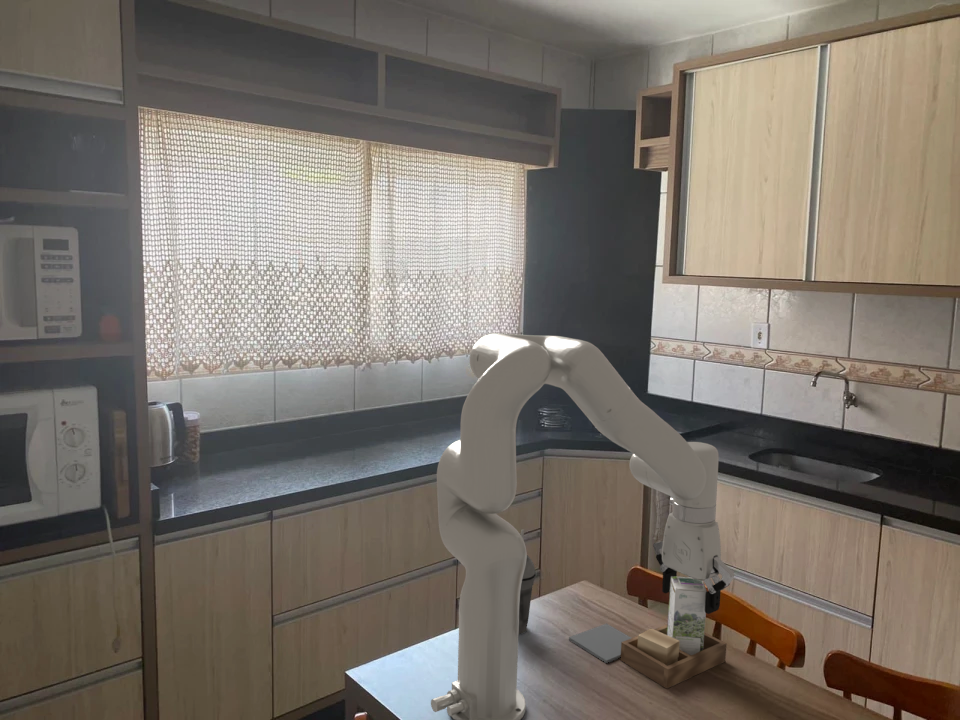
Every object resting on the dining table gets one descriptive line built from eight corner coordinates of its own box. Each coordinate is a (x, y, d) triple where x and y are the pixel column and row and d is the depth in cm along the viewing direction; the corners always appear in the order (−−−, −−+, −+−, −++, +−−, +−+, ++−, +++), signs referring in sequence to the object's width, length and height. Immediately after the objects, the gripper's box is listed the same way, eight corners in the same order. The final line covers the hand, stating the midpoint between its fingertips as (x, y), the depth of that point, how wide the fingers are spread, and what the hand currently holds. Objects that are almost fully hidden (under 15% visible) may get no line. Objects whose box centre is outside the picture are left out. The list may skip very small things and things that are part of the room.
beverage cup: (489, 627, 146) (491, 530, 143) (515, 616, 151) (518, 521, 148) (515, 642, 141) (518, 541, 138) (541, 630, 145) (545, 532, 143)
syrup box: (696, 649, 140) (701, 575, 138) (702, 666, 134) (707, 589, 132) (665, 647, 140) (670, 573, 138) (670, 663, 134) (675, 587, 133)
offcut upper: (665, 664, 129) (666, 648, 128) (637, 650, 133) (638, 635, 133) (678, 656, 132) (679, 640, 131) (650, 643, 136) (650, 628, 136)
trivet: (606, 663, 134) (606, 660, 134) (568, 639, 142) (569, 637, 142) (644, 648, 140) (644, 645, 140) (606, 626, 148) (606, 623, 148)
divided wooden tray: (666, 688, 126) (667, 669, 126) (620, 660, 135) (621, 642, 135) (725, 661, 136) (726, 643, 135) (678, 636, 144) (679, 619, 144)
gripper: (643, 502, 138) (640, 589, 141) (721, 530, 124) (716, 626, 127) (670, 494, 143) (666, 579, 145) (748, 521, 129) (743, 614, 131)
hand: (689, 601), depth 136 cm, fingers open, 9 cm apart
